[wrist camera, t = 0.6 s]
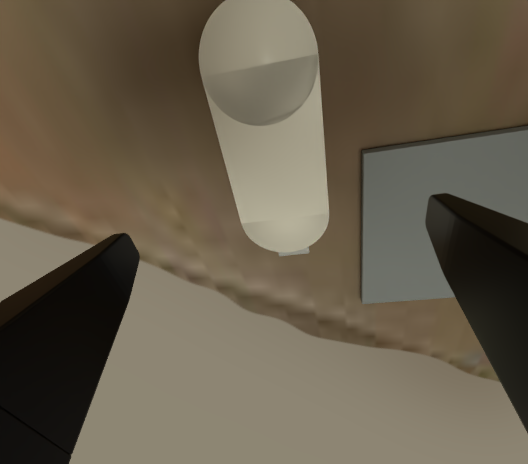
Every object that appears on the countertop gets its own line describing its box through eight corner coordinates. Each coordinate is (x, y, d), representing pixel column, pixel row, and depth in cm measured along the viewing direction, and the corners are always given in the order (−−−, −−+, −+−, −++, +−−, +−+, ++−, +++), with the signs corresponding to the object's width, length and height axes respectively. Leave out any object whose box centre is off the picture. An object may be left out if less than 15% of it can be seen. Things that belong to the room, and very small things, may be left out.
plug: (303, -15, 15) (312, -26, 10) (323, 220, 23) (333, 278, 18) (214, 6, 15) (181, 6, 11) (263, 227, 23) (258, 285, 18)
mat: (618, 112, 17) (627, 115, 17) (534, 285, 25) (539, 290, 25) (361, 150, 19) (363, 153, 19) (360, 298, 27) (362, 303, 27)
